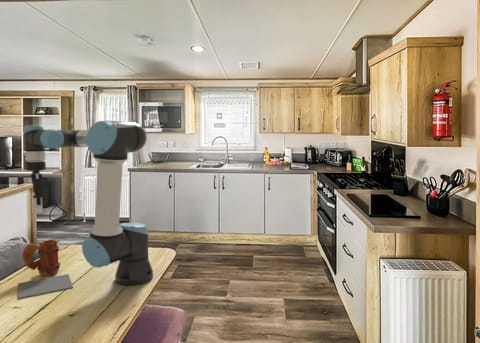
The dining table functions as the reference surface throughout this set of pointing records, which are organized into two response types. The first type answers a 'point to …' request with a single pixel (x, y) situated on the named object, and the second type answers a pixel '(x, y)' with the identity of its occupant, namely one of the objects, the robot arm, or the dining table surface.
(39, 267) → the orange hollow piece
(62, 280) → the mat
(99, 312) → the dining table surface
